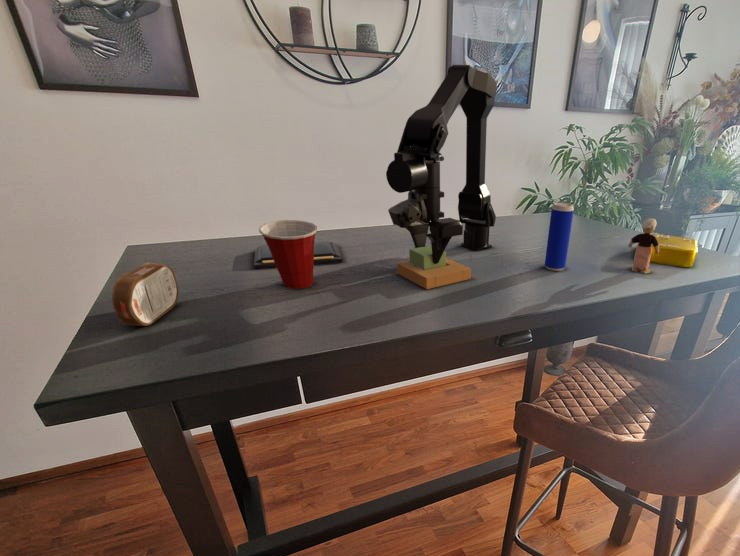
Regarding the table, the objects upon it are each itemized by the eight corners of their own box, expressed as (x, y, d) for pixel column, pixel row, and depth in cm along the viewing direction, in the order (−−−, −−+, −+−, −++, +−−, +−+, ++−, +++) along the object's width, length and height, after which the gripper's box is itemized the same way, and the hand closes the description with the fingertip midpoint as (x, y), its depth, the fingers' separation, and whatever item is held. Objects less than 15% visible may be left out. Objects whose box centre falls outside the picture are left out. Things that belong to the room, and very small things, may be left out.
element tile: (633, 260, 119) (637, 242, 116) (638, 246, 131) (642, 230, 128) (692, 268, 115) (698, 250, 112) (692, 254, 126) (697, 237, 124)
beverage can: (564, 265, 112) (573, 203, 104) (565, 272, 108) (575, 207, 100) (544, 264, 113) (551, 201, 104) (544, 270, 108) (552, 205, 100)
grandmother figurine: (654, 271, 112) (668, 219, 105) (653, 275, 109) (666, 222, 102) (624, 266, 114) (635, 214, 107) (621, 270, 111) (633, 217, 104)
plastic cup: (274, 297, 87) (260, 235, 81) (268, 279, 95) (255, 221, 88) (330, 289, 91) (321, 230, 85) (320, 273, 99) (311, 218, 93)
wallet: (336, 238, 117) (342, 255, 105) (337, 245, 118) (343, 263, 106) (254, 242, 111) (250, 260, 99) (256, 250, 112) (252, 268, 100)
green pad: (431, 258, 105) (431, 245, 103) (446, 265, 101) (446, 251, 99) (409, 262, 102) (409, 249, 100) (424, 270, 98) (423, 255, 96)
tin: (169, 299, 84) (153, 255, 79) (187, 299, 84) (172, 255, 79) (122, 335, 71) (100, 285, 67) (143, 335, 71) (122, 285, 67)
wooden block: (440, 265, 108) (440, 254, 107) (470, 279, 101) (470, 268, 99) (397, 273, 102) (397, 263, 100) (426, 289, 94) (426, 278, 93)
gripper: (370, 181, 94) (376, 254, 102) (418, 196, 82) (420, 277, 91) (414, 178, 100) (417, 247, 109) (465, 192, 88) (463, 268, 97)
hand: (428, 259), depth 101 cm, fingers closed on green pad, 6 cm apart
